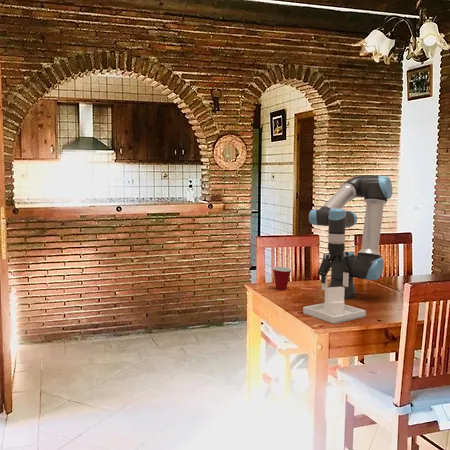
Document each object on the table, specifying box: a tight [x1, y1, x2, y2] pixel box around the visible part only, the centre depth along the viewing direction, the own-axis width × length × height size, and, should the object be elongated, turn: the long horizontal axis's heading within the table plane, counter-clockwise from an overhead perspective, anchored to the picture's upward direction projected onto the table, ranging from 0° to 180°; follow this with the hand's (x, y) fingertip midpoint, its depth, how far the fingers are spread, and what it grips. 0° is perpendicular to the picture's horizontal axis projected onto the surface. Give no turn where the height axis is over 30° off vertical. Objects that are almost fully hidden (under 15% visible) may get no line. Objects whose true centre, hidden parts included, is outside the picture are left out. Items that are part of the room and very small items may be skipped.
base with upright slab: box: [323, 286, 345, 316], centre depth 243 cm, size 9×9×12 cm
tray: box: [302, 302, 367, 325], centre depth 243 cm, size 20×20×3 cm
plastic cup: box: [272, 266, 293, 291], centre depth 294 cm, size 11×11×12 cm
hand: (335, 288), depth 242 cm, fingers open, 13 cm apart
